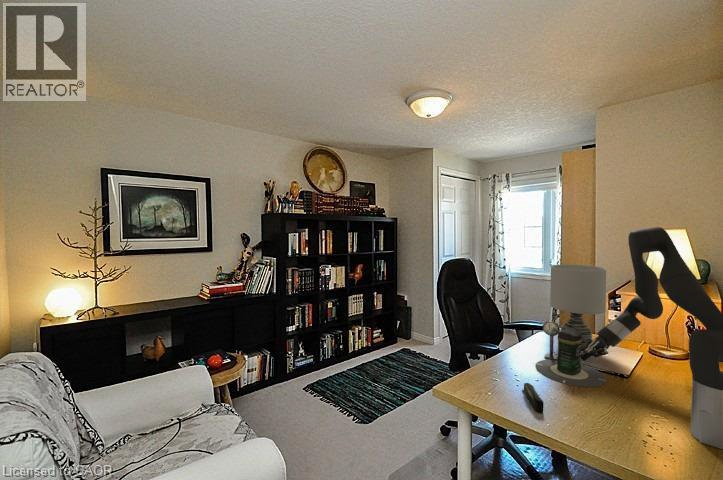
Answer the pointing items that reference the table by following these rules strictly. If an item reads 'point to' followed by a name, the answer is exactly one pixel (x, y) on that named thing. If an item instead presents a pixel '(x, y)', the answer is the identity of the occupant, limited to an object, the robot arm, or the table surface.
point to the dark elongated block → (533, 398)
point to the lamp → (578, 295)
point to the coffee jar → (569, 352)
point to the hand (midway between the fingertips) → (581, 359)
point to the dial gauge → (551, 337)
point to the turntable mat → (583, 379)
